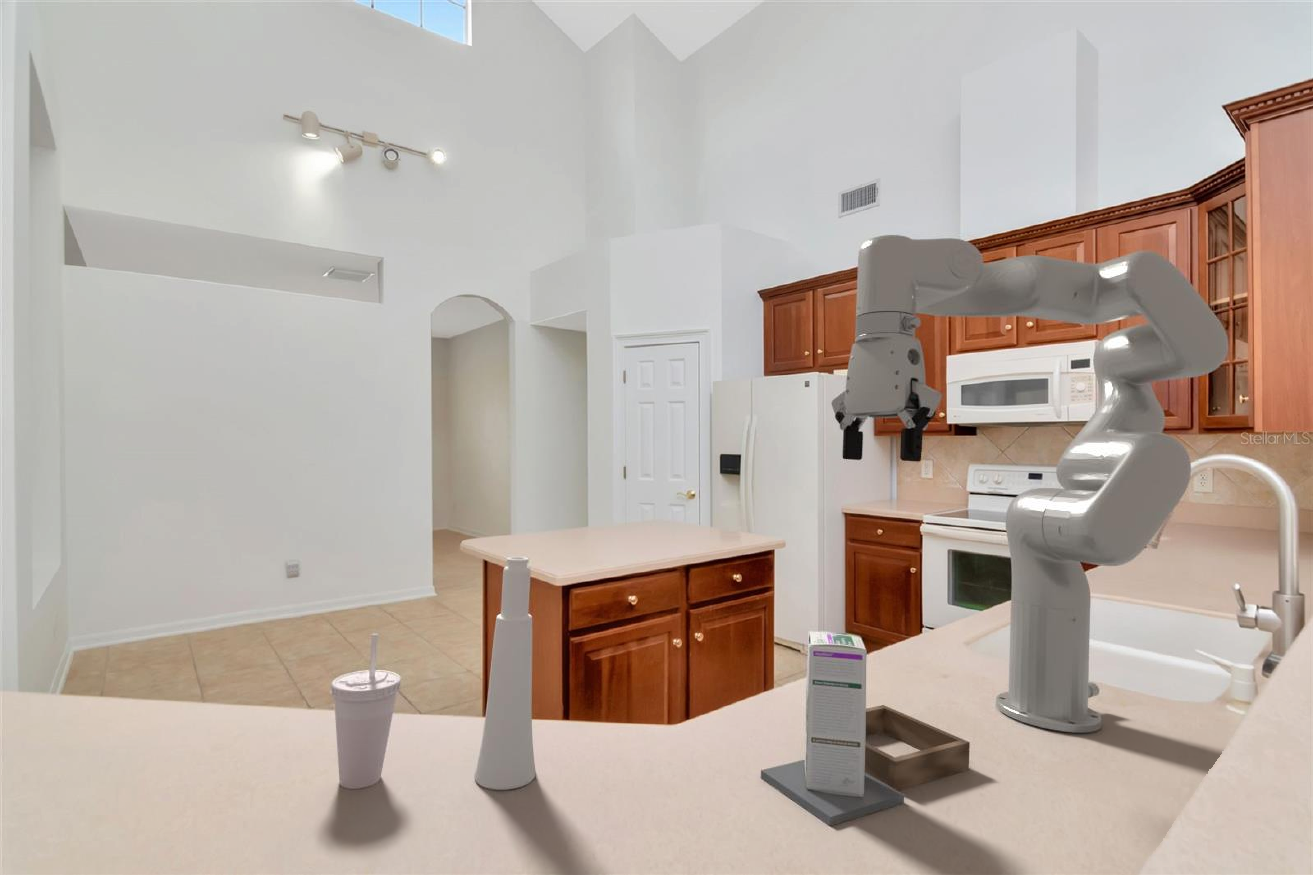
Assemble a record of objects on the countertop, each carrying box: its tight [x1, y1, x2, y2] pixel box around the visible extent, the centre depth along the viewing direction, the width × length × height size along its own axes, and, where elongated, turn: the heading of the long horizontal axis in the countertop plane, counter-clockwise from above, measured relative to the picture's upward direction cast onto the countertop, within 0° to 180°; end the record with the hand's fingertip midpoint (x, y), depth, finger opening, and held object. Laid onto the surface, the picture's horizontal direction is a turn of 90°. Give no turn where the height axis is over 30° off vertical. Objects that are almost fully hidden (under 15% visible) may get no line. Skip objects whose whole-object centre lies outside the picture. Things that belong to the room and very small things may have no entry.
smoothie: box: [329, 633, 402, 790], centre depth 65 cm, size 6×6×14 cm
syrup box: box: [804, 630, 868, 797], centre depth 68 cm, size 6×6×14 cm
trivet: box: [760, 759, 905, 827], centre depth 67 cm, size 10×10×1 cm
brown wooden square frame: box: [865, 704, 971, 792], centre depth 76 cm, size 12×12×3 cm
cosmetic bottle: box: [474, 556, 537, 791], centre depth 67 cm, size 6×6×22 cm
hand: (880, 460), depth 87 cm, fingers open, 9 cm apart
